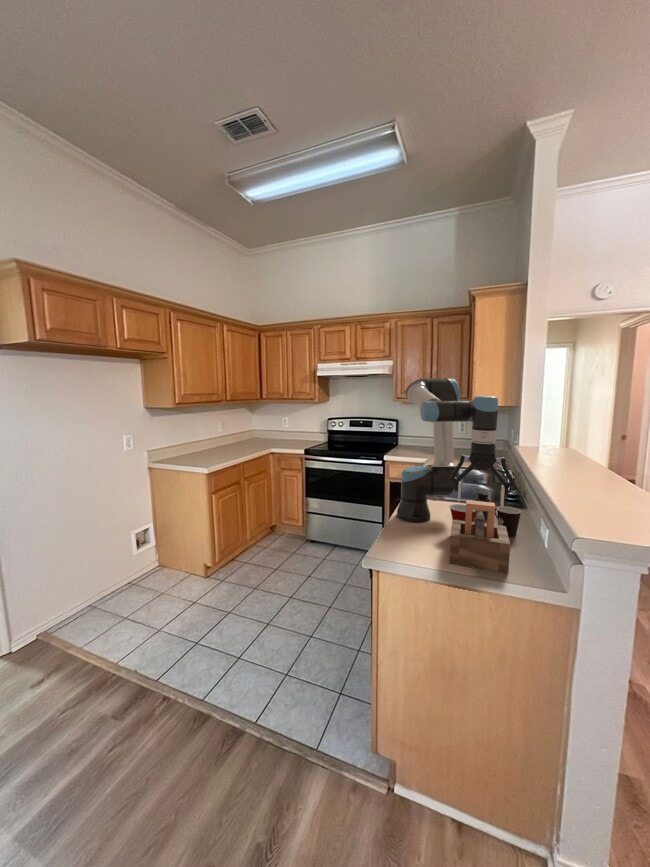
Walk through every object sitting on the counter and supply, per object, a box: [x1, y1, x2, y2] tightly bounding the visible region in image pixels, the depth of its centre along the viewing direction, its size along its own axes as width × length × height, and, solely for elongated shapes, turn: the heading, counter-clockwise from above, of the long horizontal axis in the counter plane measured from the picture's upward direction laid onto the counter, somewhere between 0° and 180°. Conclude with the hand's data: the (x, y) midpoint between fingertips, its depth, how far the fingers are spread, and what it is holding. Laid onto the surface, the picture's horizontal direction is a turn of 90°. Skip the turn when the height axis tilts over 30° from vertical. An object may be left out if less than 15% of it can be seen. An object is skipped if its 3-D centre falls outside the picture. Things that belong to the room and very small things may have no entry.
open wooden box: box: [448, 510, 511, 574], centre depth 123 cm, size 16×18×18 cm
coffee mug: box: [495, 506, 522, 538], centre depth 146 cm, size 12×9×10 cm
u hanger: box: [465, 499, 496, 538], centre depth 122 cm, size 4×9×13 cm, turn 68°
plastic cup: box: [448, 503, 476, 522], centre depth 143 cm, size 11×11×12 cm
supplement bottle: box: [473, 490, 492, 521], centre depth 162 cm, size 7×7×12 cm
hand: (479, 502), depth 122 cm, fingers open, 13 cm apart
